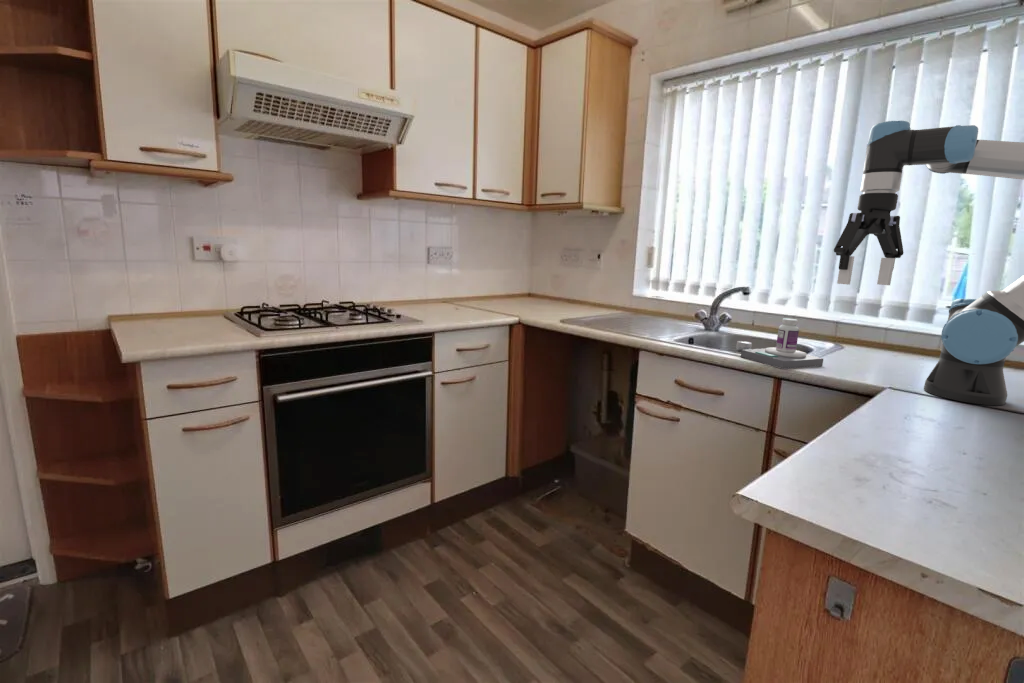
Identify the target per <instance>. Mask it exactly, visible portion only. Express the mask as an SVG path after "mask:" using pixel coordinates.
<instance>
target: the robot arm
mask: <svg viewBox="0 0 1024 683" xmlns="http://www.w3.org/2000/svg"><path fill="white" fill-rule="evenodd" d="M978 134H979V127H978V126H977V125H974V124H973V125H971V124H970V125H961V124H960V125H959V124H957V125H954V126H946V127H945V126H943V127H934V128H932V127H931V128H924V129H911V124H910V122H909V121H906V120H888V121H882V122H878V123H876V124H874V125H873V126H872V127H871V128H870V131H869V137H868V141H867V144H866V149H865V150H866V151H865V158H864V165H863V171H862V179H861V184H860V189H859V190H860V192H861V194H860V195H859V196H858V201H857V202H858V204H857V211H858V212H850V213H849V216H848V219H847V223H846V226H844V229H843V231H842V233H841V235H840V236H839V238H838V240H837V242H836V245H835V246H834V248H833V252H834V253H835V255H836V256H838V257H839V263H838V270H839V271H838V275H837V281H836V284H837V285H849V286H850V285H851V281H852V275H853V268H854V262H855V256H853V254H854V253H855V251H856V250H857V249H858V247H859V246H860V245H861V243H862V242H863V241H864V240H865V239H866V237H867V236H869V235H874V236H875V237H876V238H877V241H878V243H879V245H880V248H881V251H882V253H883V256H884V257H880V258H881V259H880V263H879V264H880V265H879V270H878V277H877V282H876V283H877V284H876V285H881V286H891V282H892V279H893V278H892V277H893V271H894V269H895V268H894V267H895V261H896V259H901V258H902V256H903V255H904V253H905V252H904V246H903V241H902V240H903V239H902V234H901V227H900V222H901V221H900V220H901V216H900V215H891V212H892V211H895V210H896V209H897V205H898V199H899V195H898V193H897V192H899V191H900V188H901V182H902V176H903V169H904V166H921V165H923V166H925V167H926V169H928V171H931V172H933V173H935V174H942V175H943V174H949V173H950V174H952V173H953V174H961V175H962V174H963V175H965V174H966V175H975V176H985V177H993V178H994V177H995V178H1005V179H1006V178H1007V179H1013V180H1014V179H1015V180H1022V181H1024V142H1021V141H1006V140H993V139H978ZM859 211H860V212H859ZM940 337H941V341H942V345H941V350H940V355H939V359H938V361H937V363H936V364H935V366H934V367H933V369H932V370H931V371H930V373H929V375H928V376H927V377H926V380H925V381H924V385H923V390H924V391H925V392H926V393H930V394H932V395H935V396H937V397H942V398H944V399H945V398H946V399H949V400H952V401H953V400H954V401H957V402H958V401H959V402H963V403H968V404H976V405H985V406H1003V405H1004V406H1005V405H1006V402H1007V398H1008V391H1007V385H1006V379H1005V375H1004V367H1005V362H1006V358H1007V357H1009V356H1010V355H1011V353H1012V352H1013V351H1014V349H1015V348H1016V347H1019V345H1021V344H1023V343H1024V274H1023V275H1021V277H1019V278H1018V279H1017V280H1014V282H1012V283H1011V284H1010V285H1008V286H1006V287H1005V288H1004V289H1000V290H988V291H987V292H985V293H984V294H982V295H981V296H978V298H957V299H955V300H953V301H952V303H951V304H950V307H949V308H948V317H947V320H946V322H945V324H944V325H943V327H942V330H941V336H940Z"/></svg>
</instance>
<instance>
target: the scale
mask: <svg viewBox="0 0 1024 683" xmlns="http://www.w3.org/2000/svg"><path fill="white" fill-rule="evenodd" d="M740 358H744V359H747V360H751V361H754V362H757V363H762V364H765V365H768V366H771V367H776V368H779V369H782V370H783V369H798V368H799V369H800V368H813V367H823V364H824V358H823V357H822V358H821V357H819V356H814V355H810V354H807V352H804V351H803V350H802V351H801V350H797V349H796V351H795V352H794V353H787V352H781V351H777V350H776V346H775V347H773V346H772V347H765V348H751V349H744V350H742V351H741V352H740Z"/></svg>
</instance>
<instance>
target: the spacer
mask: <svg viewBox="0 0 1024 683" xmlns="http://www.w3.org/2000/svg"><path fill="white" fill-rule="evenodd" d="M752 347H753V343H752V341H751V342H750V341H745V340H743V341H742V340H737V341H736V347H735V348H736V349H735V352H739V353H741V351H742V350H744V349H752Z"/></svg>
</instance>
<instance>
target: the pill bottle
mask: <svg viewBox="0 0 1024 683" xmlns="http://www.w3.org/2000/svg"><path fill="white" fill-rule="evenodd" d="M781 323H782V324H780V325H779V327H778V330H777V338H776V344H775V347H776V350H777V351H781V352H787V353H794V352H795V351H796V350H797V346H798V341H799V340H798V339H799V332H800V329H799V327H798V326H797V325H798V323H799V320H798V319H796V318H788V317H787V318H786V317H785V318H784V317H783V318H782V319H781Z"/></svg>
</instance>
